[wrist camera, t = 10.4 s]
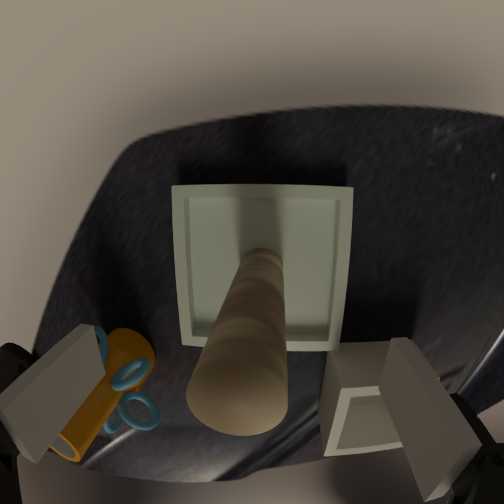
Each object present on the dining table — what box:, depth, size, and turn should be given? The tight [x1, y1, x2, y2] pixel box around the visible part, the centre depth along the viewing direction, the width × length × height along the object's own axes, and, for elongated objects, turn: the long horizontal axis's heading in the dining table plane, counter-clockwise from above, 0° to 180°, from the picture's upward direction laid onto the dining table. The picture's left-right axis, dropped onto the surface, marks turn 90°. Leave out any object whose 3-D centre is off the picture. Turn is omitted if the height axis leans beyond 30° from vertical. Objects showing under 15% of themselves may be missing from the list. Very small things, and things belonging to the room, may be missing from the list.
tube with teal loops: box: [50, 325, 160, 462], centre depth 22 cm, size 12×10×15 cm
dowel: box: [186, 248, 288, 436], centre depth 17 cm, size 4×4×16 cm
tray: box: [172, 184, 353, 351], centre depth 25 cm, size 14×14×2 cm
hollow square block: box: [318, 339, 440, 456], centre depth 24 cm, size 9×9×7 cm
